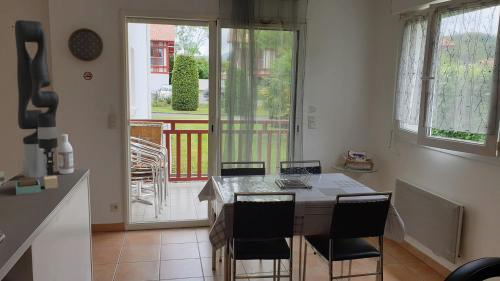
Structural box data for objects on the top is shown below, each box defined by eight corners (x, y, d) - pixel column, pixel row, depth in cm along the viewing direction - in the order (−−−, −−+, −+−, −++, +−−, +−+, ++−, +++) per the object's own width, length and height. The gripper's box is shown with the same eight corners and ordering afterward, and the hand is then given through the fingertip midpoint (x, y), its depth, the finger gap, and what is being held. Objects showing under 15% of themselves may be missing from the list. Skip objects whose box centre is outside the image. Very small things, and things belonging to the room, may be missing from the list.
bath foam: (56, 173, 199) (54, 134, 196) (68, 170, 205) (66, 133, 201) (64, 174, 195) (62, 136, 192) (76, 172, 201) (74, 134, 198)
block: (20, 189, 168) (19, 177, 167) (35, 187, 171) (34, 176, 170) (20, 192, 163) (19, 181, 162) (36, 190, 166) (35, 179, 165)
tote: (16, 189, 169) (15, 181, 169) (39, 186, 174) (38, 179, 173) (16, 196, 160) (15, 188, 159) (40, 193, 165) (40, 185, 164)
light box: (44, 187, 173) (43, 176, 172) (56, 186, 176) (56, 175, 175) (45, 190, 169) (44, 179, 168) (58, 189, 172) (57, 178, 171)
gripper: (37, 135, 173) (39, 170, 175) (38, 139, 161) (41, 177, 163) (55, 134, 176) (57, 169, 179) (58, 138, 164) (61, 175, 167)
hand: (50, 173), depth 171 cm, fingers open, 8 cm apart
